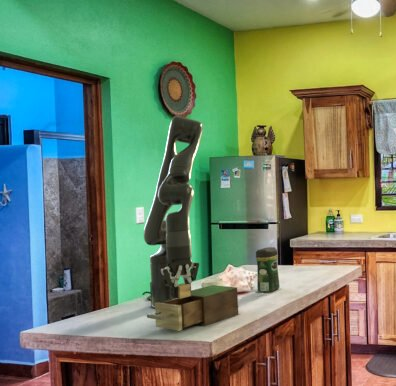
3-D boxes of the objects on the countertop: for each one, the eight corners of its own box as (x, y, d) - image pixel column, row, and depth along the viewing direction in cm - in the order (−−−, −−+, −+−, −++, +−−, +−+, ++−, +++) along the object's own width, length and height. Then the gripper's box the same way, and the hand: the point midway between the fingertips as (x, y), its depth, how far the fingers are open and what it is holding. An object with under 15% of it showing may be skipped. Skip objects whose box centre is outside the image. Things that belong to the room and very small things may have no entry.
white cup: (217, 309, 180) (215, 282, 180) (198, 309, 182) (196, 282, 182) (228, 303, 188) (226, 278, 188) (209, 303, 189) (208, 278, 189)
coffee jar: (266, 287, 215) (264, 246, 215) (282, 288, 213) (280, 246, 212) (254, 292, 206) (252, 249, 206) (270, 293, 204) (268, 249, 203)
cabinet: (205, 325, 159) (203, 296, 159) (179, 321, 165) (178, 293, 165) (238, 314, 172) (237, 287, 171) (213, 311, 178) (212, 285, 178)
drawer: (166, 335, 147) (165, 309, 147) (143, 330, 153) (141, 306, 153) (213, 319, 163) (212, 296, 163) (190, 316, 168) (189, 293, 168)
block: (172, 297, 158) (171, 285, 158) (182, 295, 161) (182, 283, 161) (180, 298, 156) (179, 286, 156) (190, 296, 159) (190, 284, 159)
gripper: (167, 247, 150) (169, 302, 151) (204, 241, 163) (206, 292, 163) (151, 246, 154) (154, 300, 154) (189, 241, 166) (191, 291, 167)
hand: (181, 296), depth 159 cm, fingers closed on block, 4 cm apart
